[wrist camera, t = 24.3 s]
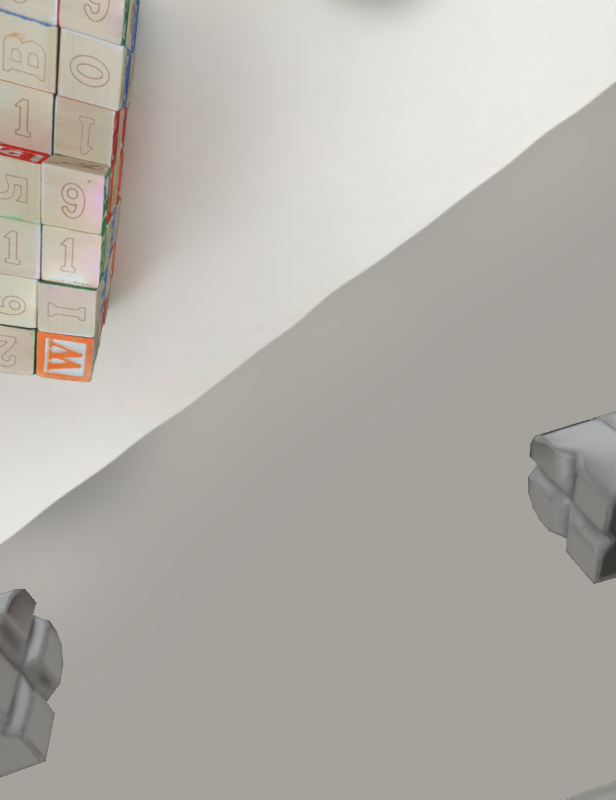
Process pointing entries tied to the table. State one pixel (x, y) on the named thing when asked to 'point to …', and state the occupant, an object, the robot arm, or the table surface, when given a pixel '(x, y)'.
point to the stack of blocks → (60, 177)
